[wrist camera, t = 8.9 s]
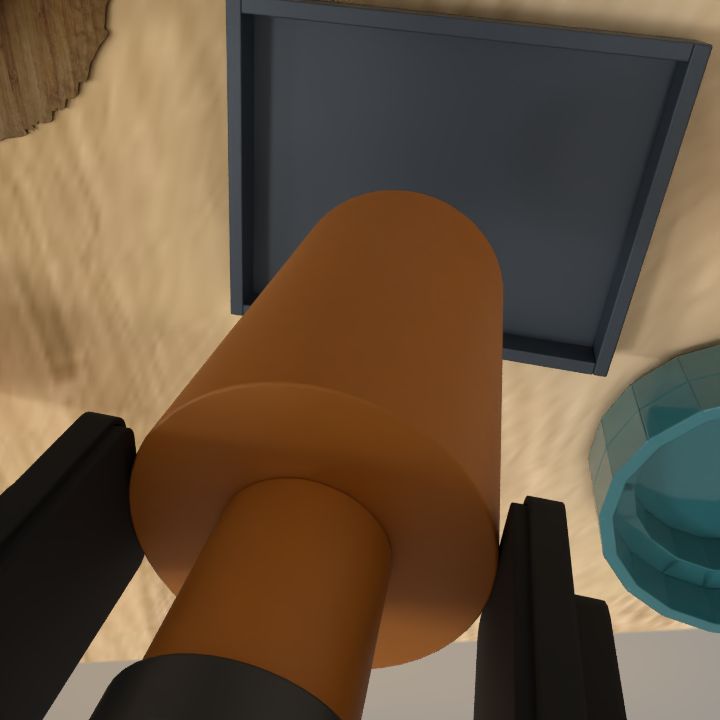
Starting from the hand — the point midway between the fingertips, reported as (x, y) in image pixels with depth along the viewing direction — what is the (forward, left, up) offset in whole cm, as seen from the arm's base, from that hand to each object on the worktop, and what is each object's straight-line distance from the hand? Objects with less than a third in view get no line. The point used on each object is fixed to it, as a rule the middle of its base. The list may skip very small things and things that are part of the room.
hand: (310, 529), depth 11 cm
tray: (0, 0, -21) cm, 21 cm away
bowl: (-16, +11, -21) cm, 29 cm away
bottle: (0, 0, -10) cm, 10 cm away
